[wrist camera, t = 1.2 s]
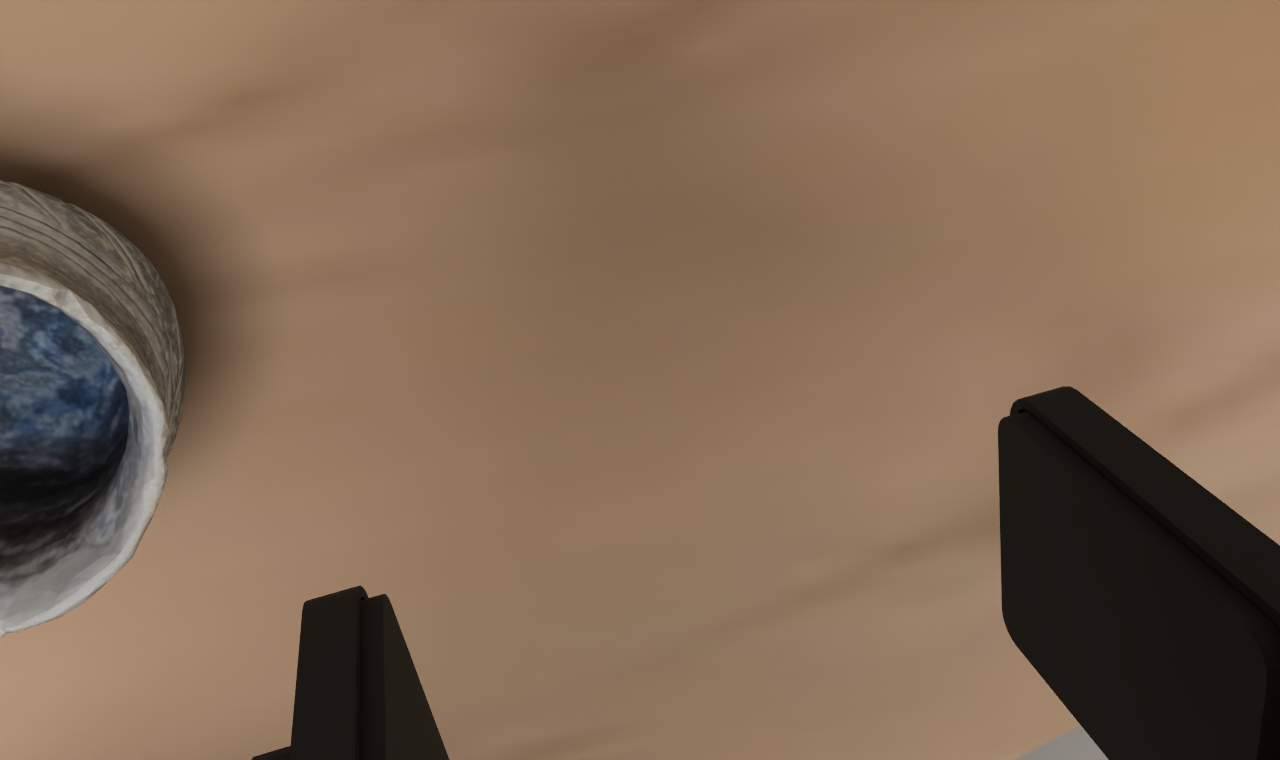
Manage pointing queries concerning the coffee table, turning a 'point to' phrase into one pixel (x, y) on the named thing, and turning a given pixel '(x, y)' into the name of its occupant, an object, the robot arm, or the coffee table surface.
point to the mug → (77, 403)
